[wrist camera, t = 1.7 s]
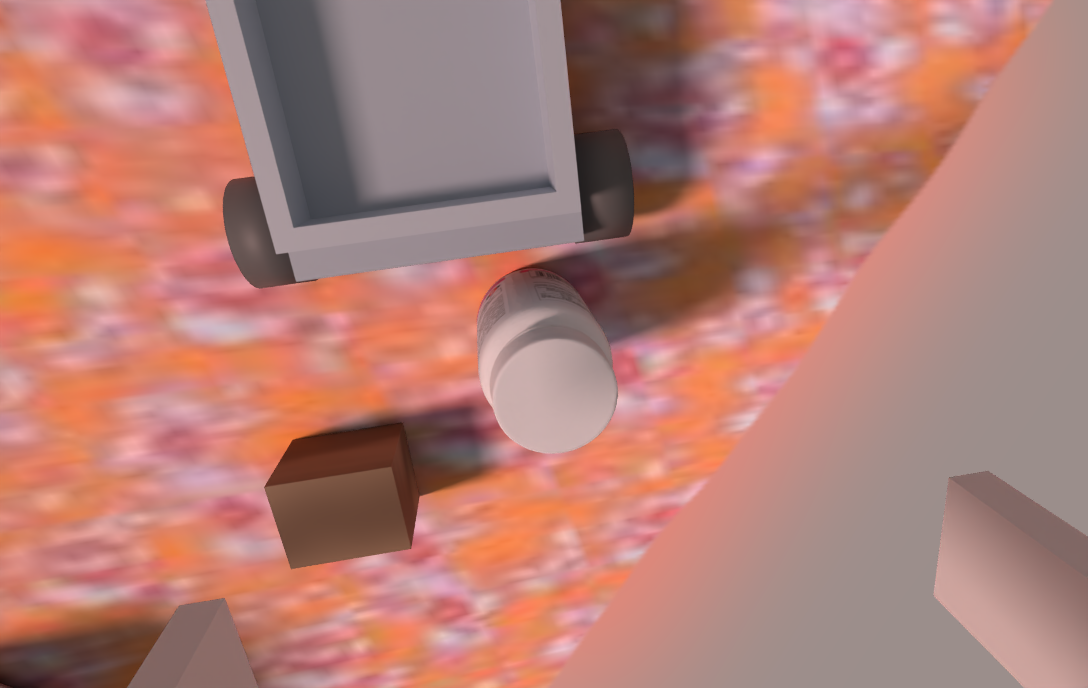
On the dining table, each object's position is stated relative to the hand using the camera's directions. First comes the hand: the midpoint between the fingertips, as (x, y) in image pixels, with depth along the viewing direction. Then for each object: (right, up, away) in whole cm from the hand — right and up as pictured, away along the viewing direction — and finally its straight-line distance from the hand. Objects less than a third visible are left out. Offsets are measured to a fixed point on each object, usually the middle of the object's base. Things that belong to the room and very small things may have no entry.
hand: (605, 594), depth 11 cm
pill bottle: (-2, +6, +16) cm, 17 cm away
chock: (-10, -1, +17) cm, 20 cm away
